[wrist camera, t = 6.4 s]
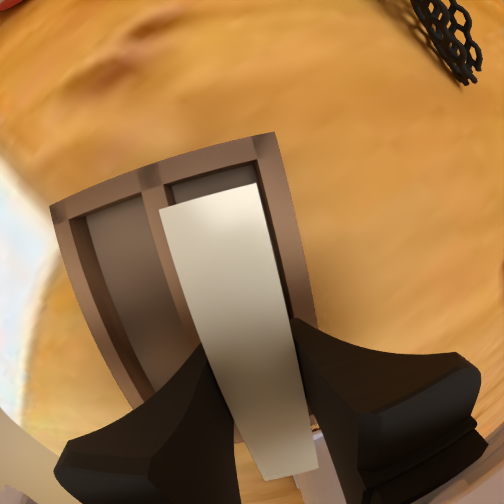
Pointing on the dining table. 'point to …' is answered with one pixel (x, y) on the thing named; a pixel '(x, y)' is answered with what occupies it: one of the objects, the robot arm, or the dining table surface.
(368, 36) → the dining table surface
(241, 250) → the clay strip
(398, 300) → the dining table surface
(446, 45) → the decorative element
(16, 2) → the citrus juicer
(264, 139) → the rack
